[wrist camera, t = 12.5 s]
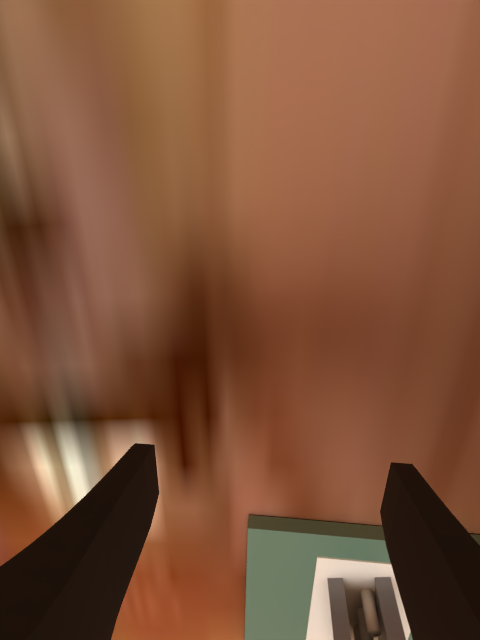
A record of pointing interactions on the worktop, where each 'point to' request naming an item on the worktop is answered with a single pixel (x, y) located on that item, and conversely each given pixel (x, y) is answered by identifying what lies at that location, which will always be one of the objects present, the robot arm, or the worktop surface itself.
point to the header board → (314, 578)
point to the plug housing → (385, 606)
